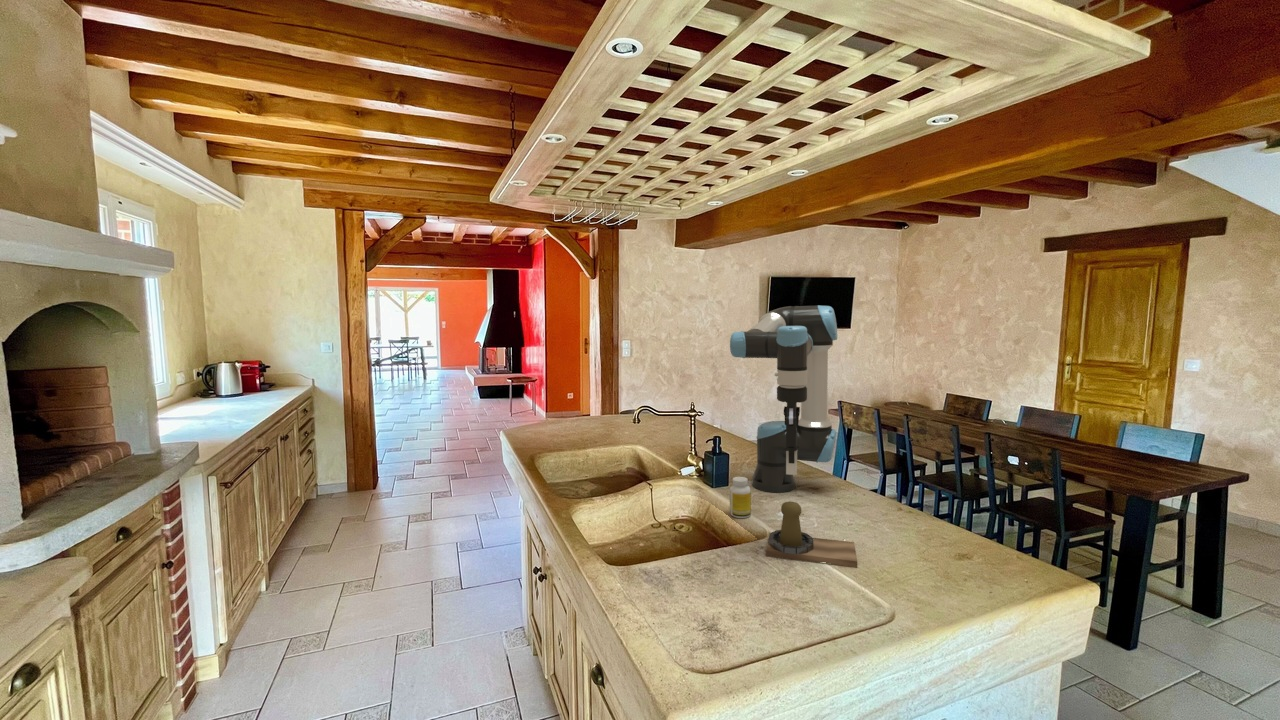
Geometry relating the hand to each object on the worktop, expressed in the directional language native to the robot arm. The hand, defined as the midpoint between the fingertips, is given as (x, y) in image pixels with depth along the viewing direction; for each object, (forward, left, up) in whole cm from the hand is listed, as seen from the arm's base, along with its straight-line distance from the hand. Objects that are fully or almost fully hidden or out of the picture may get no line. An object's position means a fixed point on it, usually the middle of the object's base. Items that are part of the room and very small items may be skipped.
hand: (791, 473), depth 137 cm
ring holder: (0, 0, -19) cm, 19 cm away
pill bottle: (-20, -16, -21) cm, 33 cm away
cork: (0, 0, -19) cm, 19 cm away
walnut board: (0, +5, -21) cm, 21 cm away
